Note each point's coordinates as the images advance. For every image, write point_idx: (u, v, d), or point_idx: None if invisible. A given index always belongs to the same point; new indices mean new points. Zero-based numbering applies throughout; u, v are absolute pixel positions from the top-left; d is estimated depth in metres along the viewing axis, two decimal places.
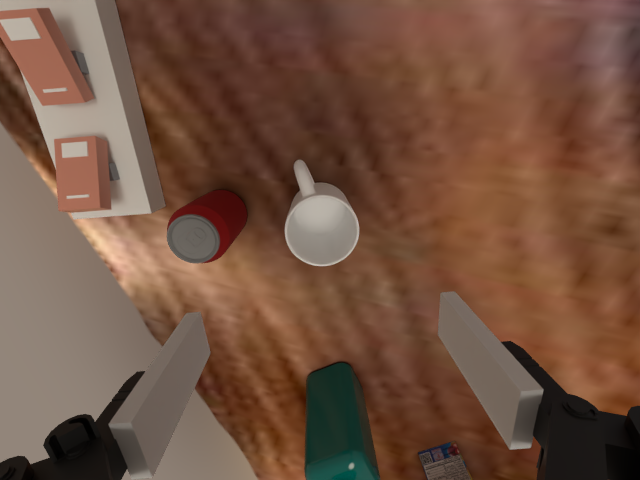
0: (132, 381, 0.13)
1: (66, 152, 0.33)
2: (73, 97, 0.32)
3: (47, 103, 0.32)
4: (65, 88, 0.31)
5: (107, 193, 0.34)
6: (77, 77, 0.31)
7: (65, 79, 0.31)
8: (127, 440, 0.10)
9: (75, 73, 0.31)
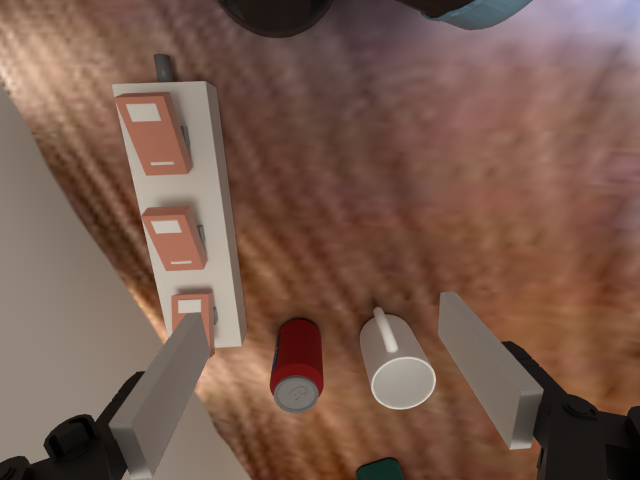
0: (132, 381, 0.13)
1: (182, 308, 0.38)
2: (194, 266, 0.36)
3: (171, 269, 0.37)
4: (190, 261, 0.36)
5: (212, 340, 0.39)
6: (200, 251, 0.36)
7: (192, 255, 0.35)
8: (127, 440, 0.10)
9: (199, 248, 0.36)
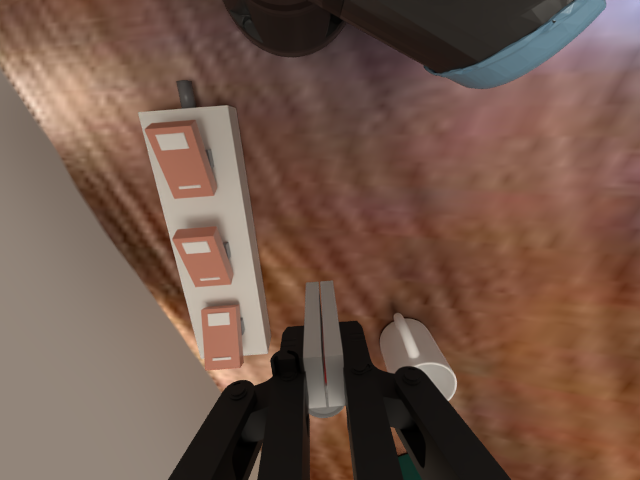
0: (288, 333, 0.15)
1: (211, 321, 0.39)
2: (222, 282, 0.38)
3: (200, 285, 0.38)
4: (218, 277, 0.37)
5: (241, 350, 0.41)
6: (227, 267, 0.38)
7: (220, 272, 0.37)
8: (314, 373, 0.12)
9: (227, 265, 0.37)
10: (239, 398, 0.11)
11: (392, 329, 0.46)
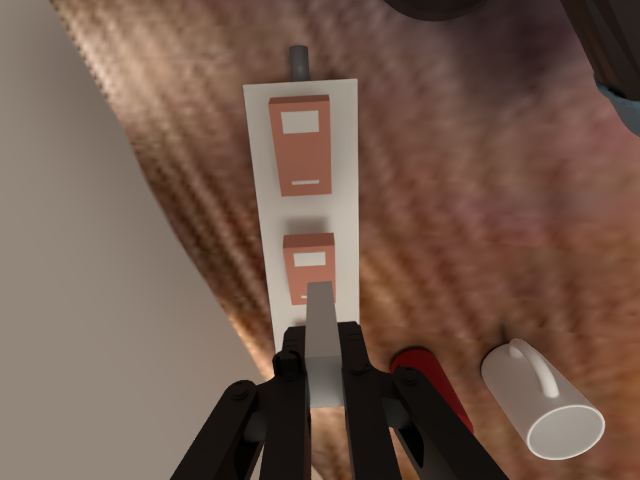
0: (289, 333, 0.15)
1: None
2: None
3: (298, 303, 0.31)
4: None
5: None
6: None
7: None
8: (316, 373, 0.12)
9: None
10: (241, 398, 0.11)
11: (504, 356, 0.39)
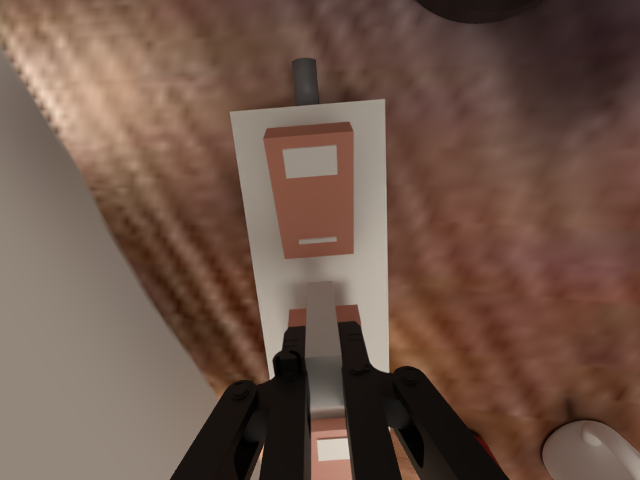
0: (290, 333, 0.15)
1: (324, 453, 0.24)
2: None
3: None
4: None
5: None
6: None
7: None
8: (316, 373, 0.12)
9: None
10: (241, 398, 0.11)
11: (575, 442, 0.30)
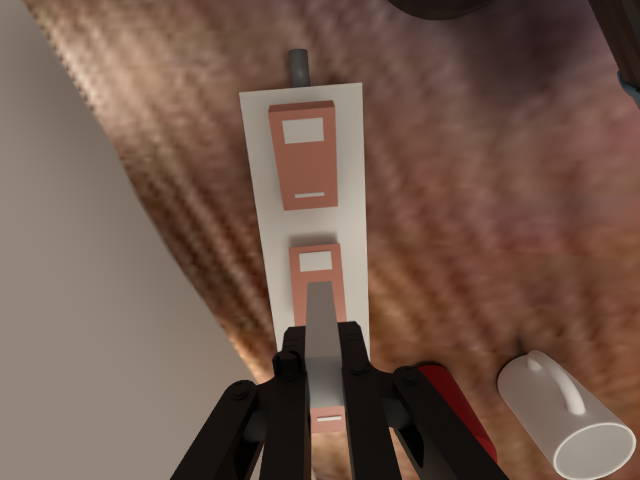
0: (289, 333, 0.15)
1: None
2: None
3: None
4: None
5: None
6: None
7: (337, 308, 0.26)
8: (316, 373, 0.12)
9: None
10: (241, 398, 0.11)
11: (521, 369, 0.37)
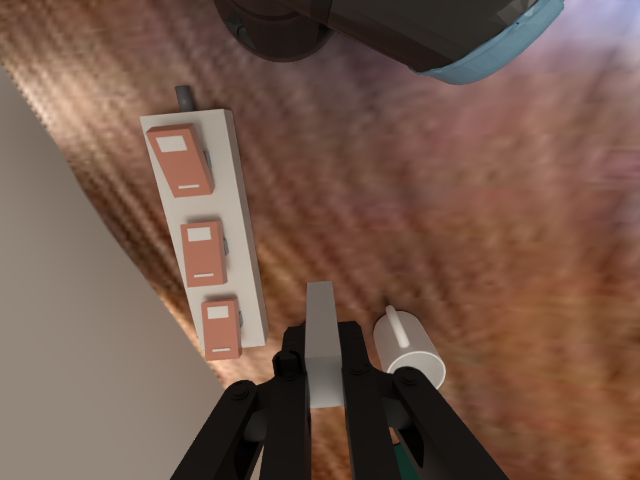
0: (289, 333, 0.15)
1: (211, 314, 0.41)
2: (215, 280, 0.38)
3: (192, 285, 0.38)
4: (212, 273, 0.38)
5: (240, 342, 0.43)
6: (223, 265, 0.39)
7: (215, 267, 0.38)
8: (316, 373, 0.12)
9: (223, 263, 0.39)
10: (241, 398, 0.11)
11: (385, 321, 0.48)
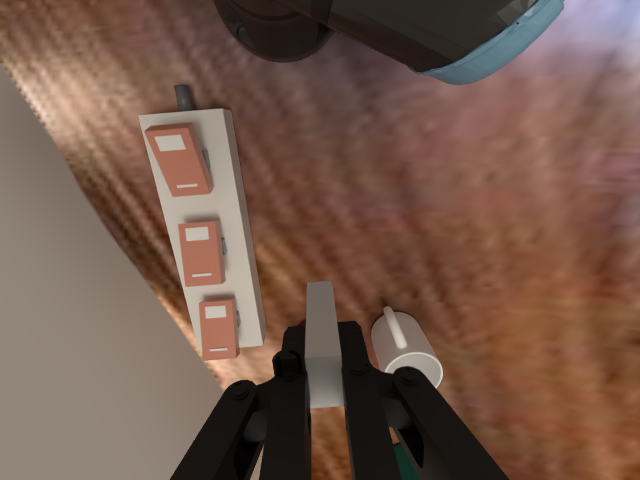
0: (289, 333, 0.15)
1: (209, 314, 0.41)
2: (213, 280, 0.38)
3: (190, 285, 0.38)
4: (210, 273, 0.38)
5: (237, 342, 0.43)
6: (221, 265, 0.39)
7: (213, 266, 0.38)
8: (316, 373, 0.12)
9: (221, 262, 0.39)
10: (241, 398, 0.11)
11: (382, 322, 0.48)
